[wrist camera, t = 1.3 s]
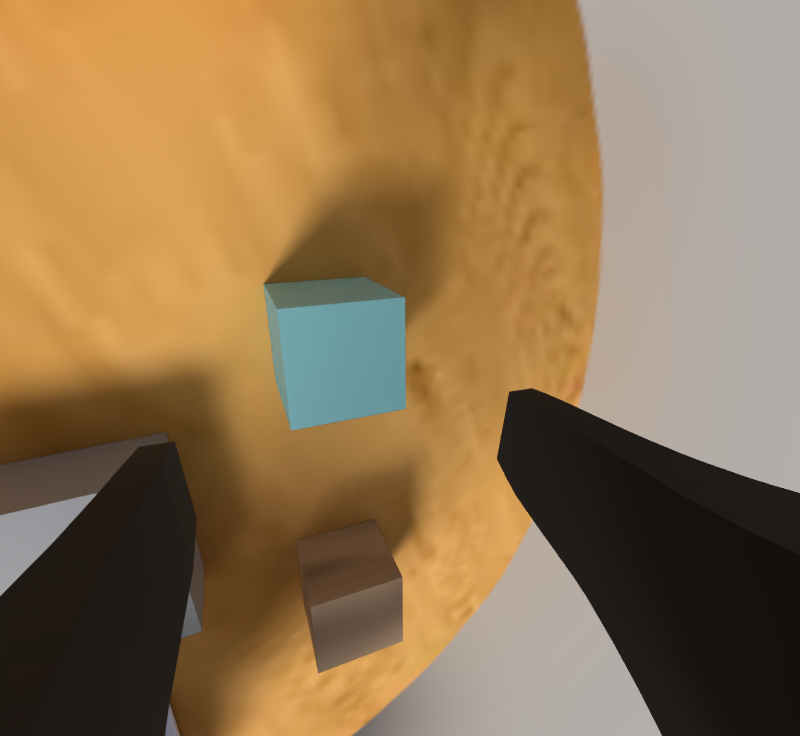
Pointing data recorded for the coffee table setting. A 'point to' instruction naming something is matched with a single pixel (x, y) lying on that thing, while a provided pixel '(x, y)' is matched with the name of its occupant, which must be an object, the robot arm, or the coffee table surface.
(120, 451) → the gray base block
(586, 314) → the coffee table surface
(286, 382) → the teal block
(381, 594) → the walnut block
